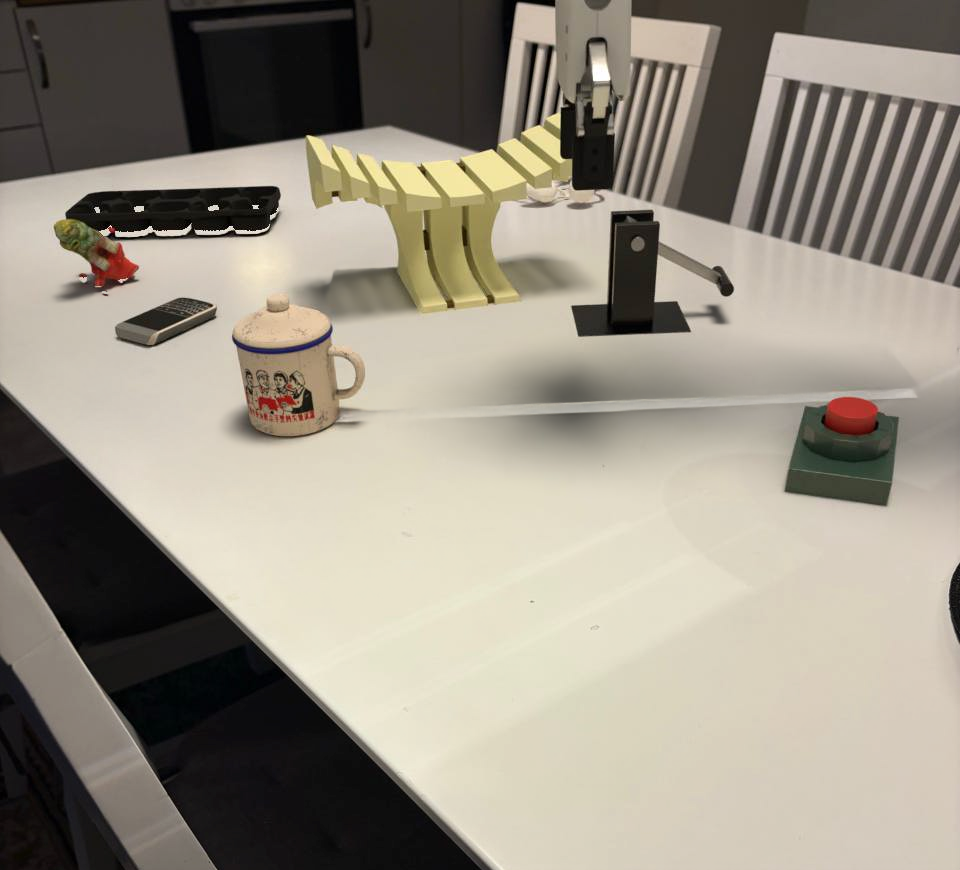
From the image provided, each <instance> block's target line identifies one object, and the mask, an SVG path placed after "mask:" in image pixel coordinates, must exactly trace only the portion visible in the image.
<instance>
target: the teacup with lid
mask: <svg viewBox="0 0 960 870" xmlns="http://www.w3.org/2000/svg"><path fill="white" fill-rule="evenodd" d="M333 330H334V328H333V324H332V323H331V320H330V319H329V318H328V316H327V315H325V314H324V313H323V312H321V311H319V310H317V309H315V308H310V307H303V306H300V305H297V304H294V303H291V302H290V299H289V297H288V296H287V295H285V294H283V293H282V294H281V293H277V294H272V295H270V296H268V297H267V299H266V305H265V306H263V307H261V308H259V309H258V310H257V311H255V312H252V313H250V314H248V315H246V316H244V317H242V318H241V319H240V320H238V321H237V322H236V323H235V325H234V327H233V329H232V336H231V340H232V343H233V344H234V345H235V346H236V347H235V348H236V352H237V358H238V362H239V363H238V364H239V368H240V373H241V379H242V384H243V389H244V390H243V391H244V395H245V400H246V405H247V411H248V415H249V416H248V417H249V420H250V423H251V425H252V426H253V427H254V428H255V429H256V430H258V431H259V432H261V433H264V434H267V435H270V436H277V437H298V436H305V435H309V434H313V433H316V432H319V431H321V430H324V429H326V428H328V427H329V426H331V425H332V424H333V423H335V422H336V420H338V418H339V416H340V414H341V410H338V409H339V407H340V400H347V399H351V398H352V397H354V396H355V395H356V394H357V393H358V392H359V391H360V390H361V388H362V386H363V384H364V381H365V377H366V368H365V364H364V361H363V358H362V357H361V356H360V355H359V353H357V352H356V351H355V350H353V349H352V348H349V347H347V346H343V345H342V346H341V345H333V341H332V333H333ZM335 357H340V358H342V359H346V361H349V362H350V363H351V365H352V366H353V368H354V371H355V378H354V383H353V385H352V386H350V387H349V388H341V389H340V388H338V380H337V373H336V372H337V371H336V365H335Z"/></svg>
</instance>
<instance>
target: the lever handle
mask: <svg viewBox="0 0 960 870" xmlns="http://www.w3.org/2000/svg"><path fill="white" fill-rule="evenodd" d="M624 222H639V221H637V220H635V219H633V218H631V217H629V216H627V217H626V218H625V220H624ZM658 256H659V257H662V258H663V259H665V260H668V261H669V262H671V263H673V264H675V265H677V266H679V267H681V268H683V269H685V270H686V271H689V272H691V273H693V274H695V275H696V276H698V277H700V278H703V279H704V280H706V281H708V282H710V283H712V284H714V285H715V286H716V288H717V290H718V291H719V294H721V296H723V297H726V298H727V297H730V296H732V294H734V291H735V286H734V285H733V282H732V281H731V280H730V277H729V276H728V274H727V273H726V271H725V270H724V268H723V266H721V265H715V266H713V267H712V268H710V267H709V266H707V265H705V264H703V263H701V262H699V261H697V260H695V259H694V258H691V257H690V256H688V255H686V254H684V253H682V252H680V251H678V250H676V249H675V248H672V247H670V246H669V245H667V244H665V243H663V242H661V241H659V245H658Z"/></svg>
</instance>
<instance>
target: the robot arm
mask: <svg viewBox="0 0 960 870" xmlns="http://www.w3.org/2000/svg"><path fill="white" fill-rule="evenodd" d="M554 4H555V5H554V6H555V8H554V10H555V11H554V15H555V17H554V19H555V21H554V23H555V26H554V27H555V56H556V71H557V72H556V73H557V81H558V84H559V87H560V89H561V91H562V106H563V107H562V106H561V107H560V112H561V117H560V155H561V157H562V159H572V179H571V180H572V187H573V189H574V190H576V191H581V190H595V191H598V190H600V191H601V190H602V191H603V189H605V190H610V189H611V188H613V185H614V167H615V166H614V165H615V143H616V134H615V132H614V131H615V117H614V101H613V94H614V95H615V97H616V98H617V99H618V100H619V101H620V102H625V101H626V100H627V99H628V98H629V96H630V95H631V61H632V60H631V59H632V55H631V53H632V52H631V51H632V50H631V49H632V6H633V5H632V0H555V2H554Z"/></svg>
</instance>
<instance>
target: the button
mask: <svg viewBox="0 0 960 870" xmlns="http://www.w3.org/2000/svg"><path fill="white" fill-rule="evenodd" d="M826 405H827V411H826V416H825V422H824V425H825V427H826V428H827V429H830V430H832V431H835V432H837V433H840V434H848V435H864V434H870V433H872V432H873V431H874V428H875V423H876V419H877V414H878V411H879V407H878V406H877V405H876V404H875V403H874V402H872V401H870V400H868V399H865V398H862V397H856V396H841V397H840V396H839V397H836V398H833V399H831V400H830V401H829V402H828V403H827V404H826Z"/></svg>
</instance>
